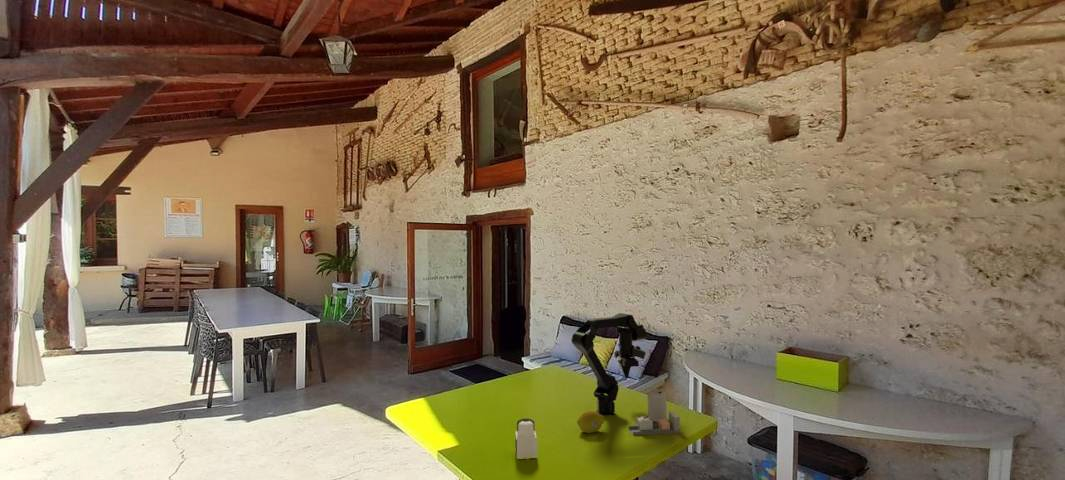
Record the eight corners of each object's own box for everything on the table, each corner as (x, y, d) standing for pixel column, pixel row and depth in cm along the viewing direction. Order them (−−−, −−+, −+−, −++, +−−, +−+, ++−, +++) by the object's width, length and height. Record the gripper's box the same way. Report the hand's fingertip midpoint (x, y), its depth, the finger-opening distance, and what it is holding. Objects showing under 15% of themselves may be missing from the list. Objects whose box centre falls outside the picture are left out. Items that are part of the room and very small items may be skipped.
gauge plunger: (639, 433, 180) (639, 419, 180) (636, 429, 184) (636, 415, 184) (652, 433, 180) (652, 419, 180) (649, 428, 185) (648, 415, 185)
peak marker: (662, 432, 181) (661, 423, 181) (658, 428, 185) (658, 419, 185) (669, 432, 181) (669, 423, 181) (666, 428, 185) (665, 419, 185)
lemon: (578, 436, 179) (577, 415, 179) (575, 428, 187) (575, 408, 187) (606, 435, 180) (606, 414, 180) (603, 427, 187) (602, 407, 187)
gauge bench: (633, 436, 179) (633, 419, 179) (628, 429, 185) (628, 413, 185) (679, 433, 180) (679, 417, 180) (673, 427, 186) (673, 411, 186)
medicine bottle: (515, 451, 168) (514, 417, 168) (535, 450, 168) (535, 416, 168) (516, 460, 161) (515, 424, 161) (537, 459, 161) (536, 423, 161)
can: (667, 424, 189) (667, 394, 190) (648, 423, 191) (647, 393, 191) (666, 417, 197) (665, 388, 197) (647, 416, 198) (647, 387, 198)
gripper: (650, 346, 201) (651, 383, 201) (637, 337, 220) (638, 371, 220) (624, 347, 200) (625, 384, 200) (613, 338, 219) (614, 372, 219)
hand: (626, 377), depth 210 cm, fingers closed
